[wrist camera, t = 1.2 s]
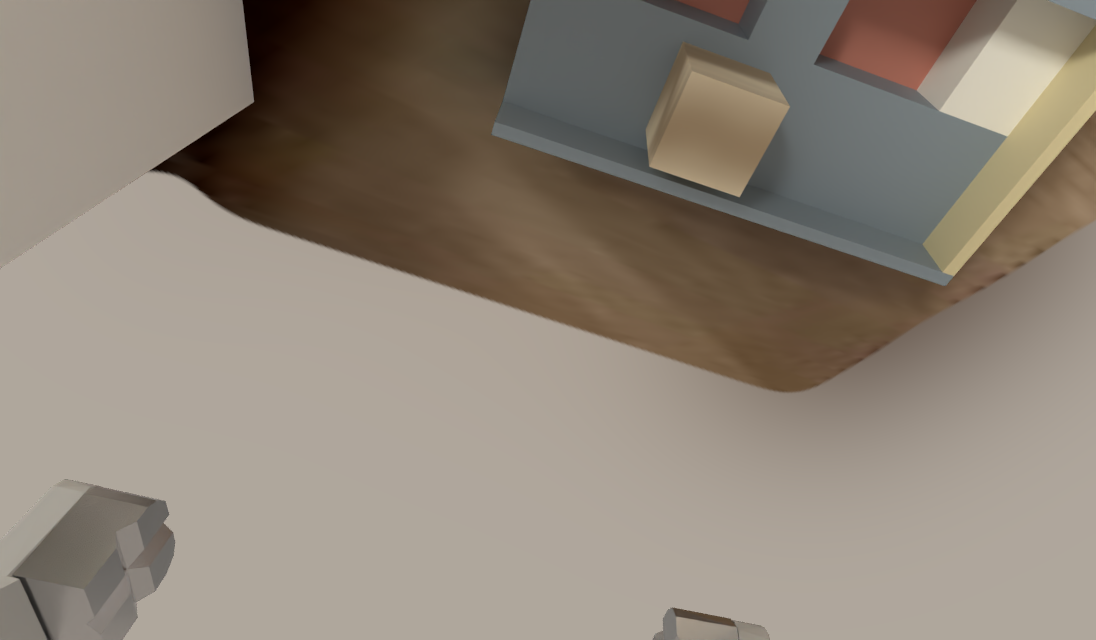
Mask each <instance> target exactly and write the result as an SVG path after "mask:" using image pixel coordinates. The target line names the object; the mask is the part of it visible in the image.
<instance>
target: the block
mask: <svg viewBox="0 0 1096 640" xmlns="http://www.w3.org/2000/svg"><path fill="white" fill-rule="evenodd" d="M789 108H790V106H789V104H788V102H787V101H786V99H785V97H784V96H783V94H782V92H781V90H780V89H779V87H778V85H777V84H776V82H775V80H774V79H773V77H772V75H771V74H770V73H768V72H765V71H762V70H760V69H757V68H754V67H751V66H749V65H746V64H743V63H740V62H738V61H735V60H732V59H730V58H727V57H724V56H721V55H719V54H716V53H713V52H710V51H708V50H705V49H702V48H699V47H697V46H694V45H691V44H688V43H686V42H683V43H682V45H681V47H680V50H679V52H678V54H677V57H676V59H675V61H674V64H673V66H672V69H671V71H670V73H669V76H668V78H667V80H666V83H665V85H664V87H663V90H662V92H661V94H660V97H659V99H658V101H657V104H656V106H655V108H654V111H653V113H652V115H651V118H650V120H649V122H648V125H647V127H646V139H647V149H648V159H649V167H652V168H655V169H658V170H660V171H663V172H666V173H669V174H672V175H675V176H678V177H681V178H684V179H687V180H690V181H693V182H696V183H699V184H702V185H705V186H708V187H711V188H714V189H717V190H720V191H723V192H726V193H729V194H731V195H734V196H737V197H740V196H741V194H742V192H743V190H744V188H745V187H746V185H747V183H748V181H749V179H750V178H751V176H752V174H753V172H754V170H755V169H756V167H757V165H758V163H759V161H760V160H761V158H762V156H763V154H764V153H765V151H766V149H767V147H768V145H769V144H770V142H771V140H772V138H773V136H774V135H775V133H776V131H777V129H778V127H779V126H780V124H781V122H782V120H783V118H784V117H785V115H786V113H787V111H788V109H789Z"/></svg>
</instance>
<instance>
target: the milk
mask: <svg viewBox="0 0 1096 640" xmlns="http://www.w3.org/2000/svg"><path fill="white" fill-rule="evenodd" d="M253 102H254V96H253V88H252V79H251V71H250V62H249V53H248V45H247V36H246V27H245V19H244V10H243V2H242V0H0V268H2V267H3V266H5V265H6V264H8V263H9V262H11V261H12V260H14V259H15V258H17V257H18V256H20V255H22V254H23V253H24V252H26V251H28V250H29V249H31V248H32V247H34V246H35V245H37V244H38V243H40V242H41V241H43V240H44V239H46V238H48V237H49V236H51V235H52V234H53V233H55V232H57V231H58V230H60V229H61V228H63V227H64V226H66V225H67V224H69V223H70V222H72V221H73V220H75V219H76V218H78V217H79V216H81V215H83V214H84V213H85V212H87V211H89V210H90V209H92V208H93V207H95V206H96V205H97V204H99V203H101V202H102V201H104V200H105V199H107V198H108V197H110V196H111V195H113V194H114V193H116V192H118V191H119V190H121V189H122V188H123V187H125V186H126V185H128V184H129V183H131V182H133V181H134V180H136V179H137V178H139V177H140V176H142V175H143V174H145V173H146V172H148V171H150V170H151V169H153V168H154V167H156V166H157V165H159V164H160V163H162V162H163V161H165V160H166V159H168V158H169V157H171V156H172V155H174V154H175V153H177V152H178V151H180V150H182V149H183V148H185V147H186V146H188V145H189V144H191V143H192V142H194V141H195V140H197V139H198V138H200V137H201V136H203V135H204V134H206V133H207V132H209V131H210V130H212V129H214V128H215V127H217V126H218V125H220V124H221V123H223V122H224V121H226V120H227V119H229V118H230V117H232V116H233V115H235V114H236V113H238V112H239V111H241V110H242V109H244V108H245V107H247V106H249V105H250V104H252V103H253Z"/></svg>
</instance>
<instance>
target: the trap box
mask: <svg viewBox="0 0 1096 640" xmlns="http://www.w3.org/2000/svg"><path fill="white" fill-rule="evenodd" d="M683 42H686V43H688V44H691V45H694V46H697V47H699V48H702V49H705V50H708V51H710V52H713V53H716V54H719V55H721V56H724V57H727V58H730V59H732V60H735V61H738V62H740V63H743V64H746V65H749V66H751V67H754V68H757V69H760V70H762V71H765V72H768V73H770V74H771V75H772V77H773V79H774V80H775V82H776V84H777V85H778V87H779V89H780V90H781V92H782V94H783V96H784V97H785V99H786V101H787V102H788V104H789V106H790V108H789V109H788V111H787V113H786V115H785V117H784V118H783V120H782V122H781V124H780V126H779V127H778V129H777V131H776V133H775V135H774V136H773V138H772V140H771V142H770V144H769V145H768V147H767V149H766V151H765V153H764V154H763V156H762V158H761V160H760V161H759V163H758V165H757V167H756V169H755V170H754V172H753V174H752V176H751V178H750V179H749V181H748V183H747V185H746V187H745V188H744V190H743V192H742V194H741V196H740V197H737V196H734V195H731V194H729V193H726V192H723V191H720V190H717V189H714V188H711V187H708V186H705V185H702V184H699V183H696V182H693V181H690V180H687V179H684V178H681V177H678V176H675V175H672V174H669V173H666V172H663V171H660V170H658V169H655V168H652V167H649V159H648V149H647V139H646V127H647V125H648V122H649V120H650V118H651V115H652V113H653V111H654V108H655V106H656V104H657V101H658V99H659V97H660V94H661V92H662V90H663V87H664V85H665V83H666V80H667V78H668V76H669V73H670V71H671V69H672V66H673V64H674V61H675V59H676V57H677V54H678V52H679V50H680V47H681V45H682V43H683ZM1095 111H1096V0H531V1H530V5H529V8H528V12H527V15H526V19H525V23H524V26H523V30H522V33H521V37H520V41H519V44H518V48H517V51H516V55H515V59H514V62H513V66H512V70H511V73H510V77H509V80H508V84H507V88H506V91H505V95H504V98H503V102H502V104H501V107H500V109H499V112H498V115H497V117H496V120H495V123H494V126H493V130H492V134H491V135H494V136H497V137H500V138H503V139H506V140H509V141H512V142H515V143H518V144H521V145H524V146H527V147H530V148H533V149H536V150H539V151H542V152H545V153H548V154H551V155H554V156H557V157H560V158H563V159H566V160H569V161H572V162H575V163H578V164H581V165H584V166H587V167H590V168H593V169H596V170H599V171H602V172H605V173H608V174H611V175H614V176H617V177H620V178H623V179H626V180H629V181H631V182H634V183H637V184H640V185H643V186H646V187H649V188H652V189H655V190H658V191H661V192H664V193H667V194H670V195H673V196H676V197H679V198H682V199H685V200H688V201H691V202H694V203H697V204H700V205H703V206H706V207H709V208H712V209H715V210H718V211H721V212H724V213H727V214H730V215H733V216H736V217H739V218H742V219H745V220H748V221H751V222H754V223H757V224H760V225H763V226H766V227H769V228H772V229H775V230H778V231H781V232H784V233H787V234H790V235H793V236H796V237H799V238H802V239H805V240H808V241H811V242H814V243H817V244H820V245H823V246H826V247H829V248H832V249H835V250H838V251H841V252H844V253H847V254H850V255H853V256H856V257H859V258H862V259H865V260H868V261H871V262H874V263H877V264H880V265H883V266H886V267H889V268H892V269H895V270H898V271H901V272H904V273H907V274H910V275H913V276H916V277H919V278H922V279H925V280H928V281H931V282H934V283H937V284H940V285H943V286H946V285H947V284H948V283H949V281H950V280H951V279H952V278H953V277H954V275H955V274H956V273H957V272H958V271H959V270H960V268H961V267H962V266H963V265H964V264H965V263H966V261H967V260H968V259H969V258H970V257H971V256H972V254H973V253H974V252H975V251H976V250H977V249H978V247H979V246H980V245H981V244H982V243H983V242H984V240H985V239H986V238H987V237H988V236H989V235H990V233H991V232H992V231H993V230H994V229H995V228H996V226H997V225H998V224H999V223H1000V222H1001V221H1002V219H1003V218H1004V217H1005V216H1006V215H1007V214H1008V212H1009V211H1010V210H1011V209H1012V208H1013V207H1014V205H1015V204H1016V203H1017V202H1018V201H1019V200H1020V198H1021V197H1022V196H1023V195H1024V194H1025V193H1026V191H1027V190H1028V189H1029V188H1030V187H1031V186H1032V184H1033V183H1034V182H1035V181H1036V180H1037V179H1038V177H1039V176H1040V175H1041V174H1042V173H1043V172H1044V170H1045V169H1046V168H1047V167H1048V166H1049V165H1050V163H1051V162H1052V161H1053V160H1054V159H1055V158H1056V156H1057V155H1058V154H1059V153H1060V152H1061V151H1062V149H1063V148H1064V147H1065V146H1066V145H1067V144H1068V142H1069V141H1070V140H1071V139H1072V138H1073V137H1074V135H1075V134H1076V133H1077V132H1078V131H1079V130H1080V128H1081V127H1082V126H1083V125H1084V124H1085V123H1086V121H1087V120H1088V119H1089V118H1090V117H1091V116H1092V114H1093V113H1094V112H1095Z"/></svg>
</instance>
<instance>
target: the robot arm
mask: <svg viewBox="0 0 1096 640" xmlns="http://www.w3.org/2000/svg"><path fill="white" fill-rule="evenodd" d="M168 515H169V512H168V508H167V505H166V502H165V501H163V500H159V499H154V498H149V497H145V496H140V495H136V494H131V493H127V492H122V491H117V490H113V489H108V488H103V487H101V486H97V485H92V484H87V483H82V482H77V481H73V480H68V479H64V480H63V481H61V482H59V483H57V484H56V485H54V486H53V487H51V488H50V489H49V490H48V491H47V492H46V493H45V494H44V495H43V496H42V497H41V498H40V499H39V501H37V502H36V504H35V505H34V506H33V507H32V508H31V509H30V510H29V511H28V512H27V513H26V514H25V515H24V516H23V517H22V518H21V519H20V520H19V521H18V522H17V523H16V525H14V526H13V527H12V528H11V529H10V531H9V532H8V533H7V534H6V535H5V536H4V537H3V538H2V539H1V540H0V640H123V638H124V637H125V635H126V634H127V632H128V631H129V629H130V628H131V626H132V625H133V623H134V622H135V621H136V619H137V602H138V601H139V600H141V599H143V598H144V597H146V596H148V595H150V594H151V593H153V592H155V591H156V589H157V588H158V586H159V585H160V583H161V581H162V580H163V578H164V577H165V575H166V573H167V571H168V568H169V566H170V563H171V561H172V558H173V556H174V547H175V540H174V534H173V532H172V531H171V530H170V529H169V528H168V527H167V526H166V525H165V524H164V523H163V522H164V521H165V520H166V518H167V517H168ZM653 640H770V638H769V635H768V633H767V631H766V629H765V628H764V627H762V626H759V625H755V624H749V623H744V622H739V621H734V620H731V619H728V618H724V617H718V616H713V615H708V614H703V613H698V612H692V611H687V610H682V609H677V608H670V609H669V610H668V611H667V612H666V614H665V616H664V618H663V631H661V632H659V633H657V634H655V635H654V638H653Z"/></svg>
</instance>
